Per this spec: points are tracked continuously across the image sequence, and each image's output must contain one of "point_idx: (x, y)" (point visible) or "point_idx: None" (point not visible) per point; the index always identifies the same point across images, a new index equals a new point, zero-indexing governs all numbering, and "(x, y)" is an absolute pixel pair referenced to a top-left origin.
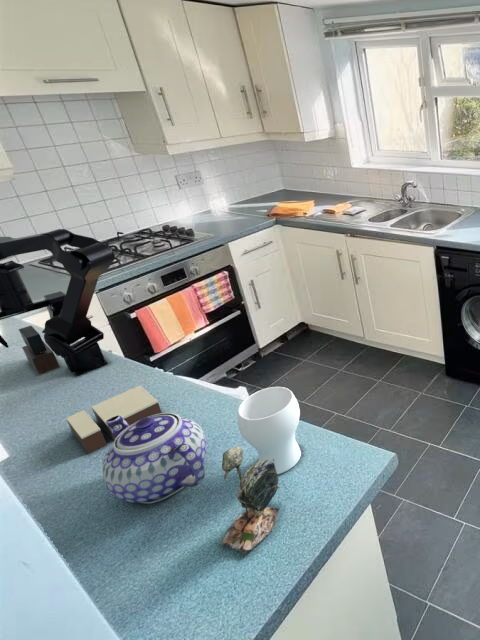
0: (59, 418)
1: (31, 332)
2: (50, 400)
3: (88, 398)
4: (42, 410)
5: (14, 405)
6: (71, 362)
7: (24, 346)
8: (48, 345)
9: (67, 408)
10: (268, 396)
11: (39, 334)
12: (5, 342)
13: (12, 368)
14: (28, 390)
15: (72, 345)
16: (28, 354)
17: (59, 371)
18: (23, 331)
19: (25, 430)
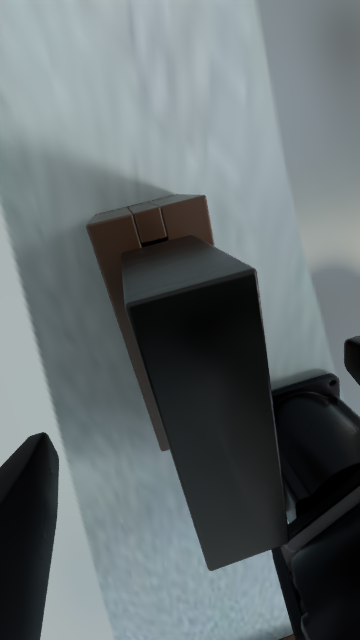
0: (201, 619)
1: (245, 482)
2: (185, 553)
3: (257, 577)
4: (169, 584)
5: (102, 540)
6: None
7: (101, 226)
8: (289, 615)
9: (217, 595)
10: None
11: (288, 540)
12: (49, 536)
13: (25, 234)
14: (127, 479)
15: (340, 507)
16: (141, 386)
17: None
18: (182, 418)
19: (142, 634)
